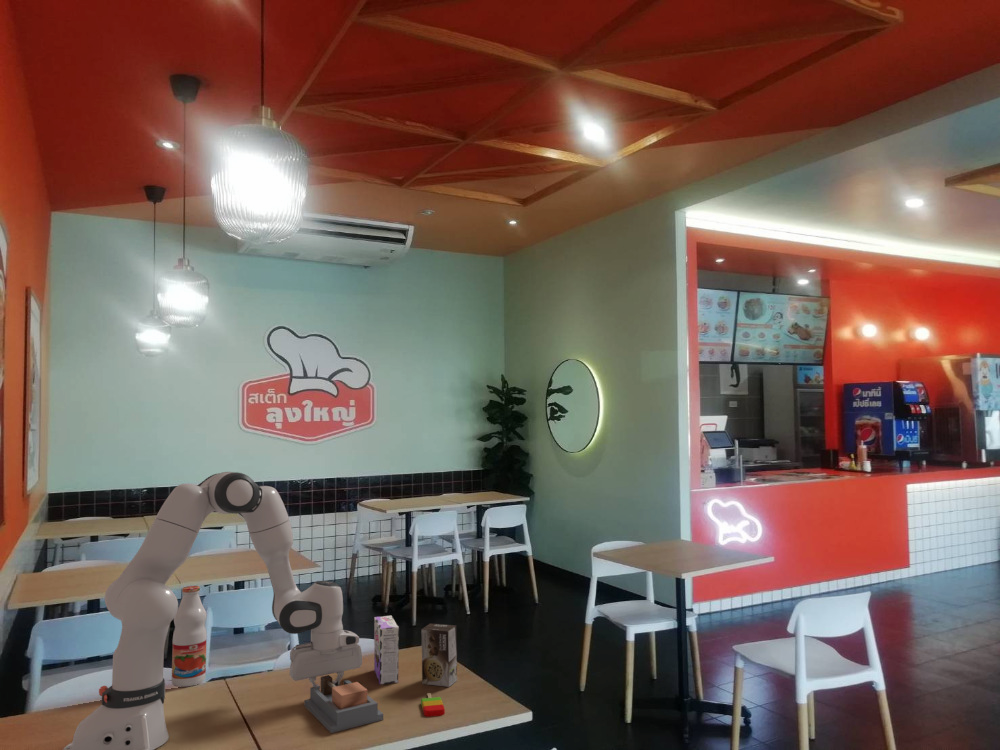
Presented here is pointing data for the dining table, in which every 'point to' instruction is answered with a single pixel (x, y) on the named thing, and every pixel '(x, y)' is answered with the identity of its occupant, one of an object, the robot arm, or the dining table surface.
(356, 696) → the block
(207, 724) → the dining table surface
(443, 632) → the coffee box
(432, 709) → the popsicle
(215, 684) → the dining table surface
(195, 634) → the fruit juice
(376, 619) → the candy box
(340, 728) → the shelf lane
